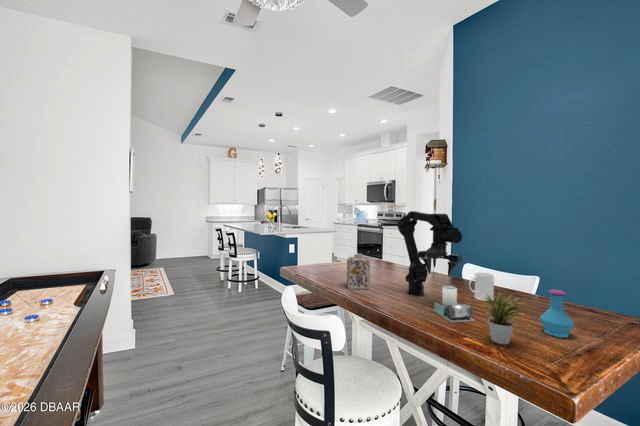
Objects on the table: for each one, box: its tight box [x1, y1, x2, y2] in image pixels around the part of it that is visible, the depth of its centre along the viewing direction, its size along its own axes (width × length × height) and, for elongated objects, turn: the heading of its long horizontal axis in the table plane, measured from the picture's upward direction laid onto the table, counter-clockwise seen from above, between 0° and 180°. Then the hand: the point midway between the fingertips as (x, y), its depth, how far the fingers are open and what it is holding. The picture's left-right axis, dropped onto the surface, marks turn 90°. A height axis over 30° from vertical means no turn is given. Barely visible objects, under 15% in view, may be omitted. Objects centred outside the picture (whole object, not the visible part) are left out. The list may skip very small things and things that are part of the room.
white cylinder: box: [441, 285, 458, 308], centre depth 123 cm, size 6×6×10 cm
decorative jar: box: [346, 253, 371, 290], centre depth 164 cm, size 12×12×18 cm
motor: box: [432, 302, 475, 323], centre depth 120 cm, size 13×10×6 cm
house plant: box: [481, 290, 529, 345], centre depth 96 cm, size 14×14×16 cm
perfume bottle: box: [539, 289, 574, 338], centre depth 104 cm, size 9×9×15 cm
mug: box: [468, 271, 495, 302], centre depth 144 cm, size 12×8×12 cm
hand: (438, 275), depth 136 cm, fingers open, 9 cm apart
